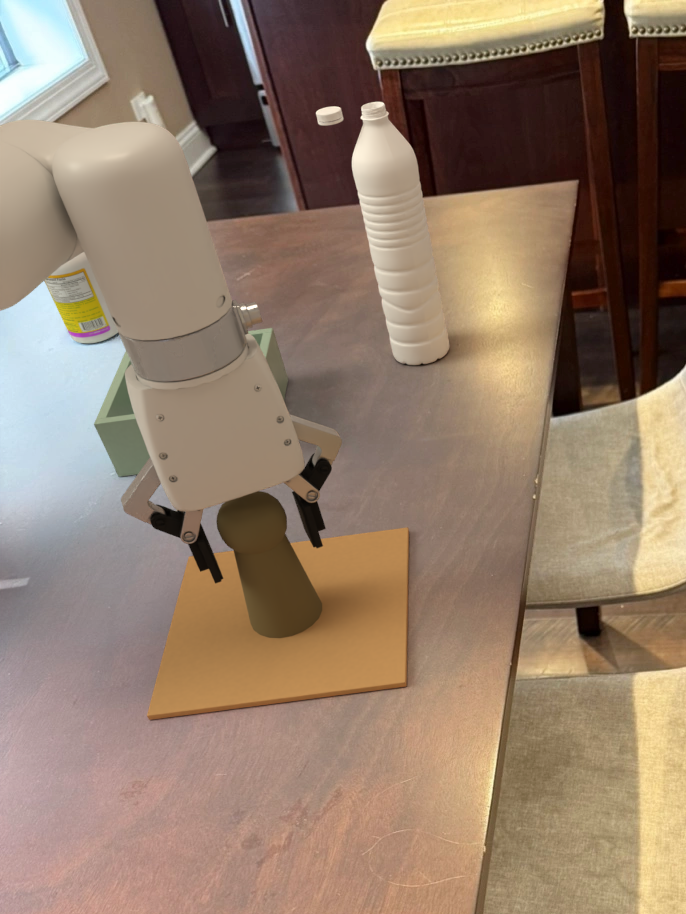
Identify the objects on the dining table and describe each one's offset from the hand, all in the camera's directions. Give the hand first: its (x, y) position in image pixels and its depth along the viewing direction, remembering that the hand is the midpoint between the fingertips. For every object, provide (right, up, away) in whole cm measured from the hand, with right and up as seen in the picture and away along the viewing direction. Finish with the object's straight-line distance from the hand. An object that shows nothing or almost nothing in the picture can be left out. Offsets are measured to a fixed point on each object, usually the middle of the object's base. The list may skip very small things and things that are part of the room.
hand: (265, 554), depth 79 cm
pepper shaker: (+1, -4, +5) cm, 6 cm away
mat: (+1, -5, +5) cm, 7 cm away
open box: (-14, +18, +28) cm, 37 cm away
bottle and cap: (+7, +28, +35) cm, 46 cm away
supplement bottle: (-34, +35, +47) cm, 68 cm away
